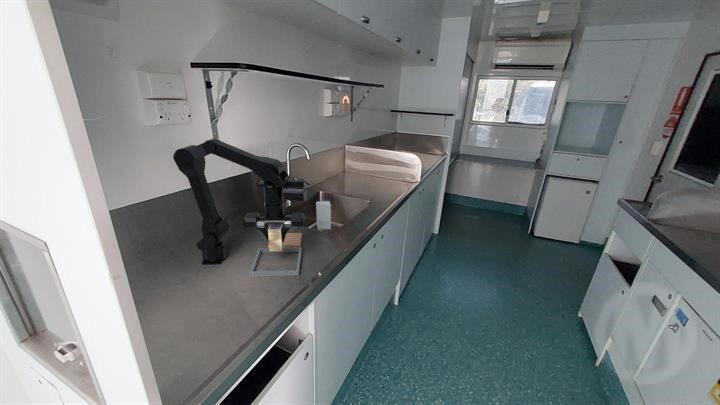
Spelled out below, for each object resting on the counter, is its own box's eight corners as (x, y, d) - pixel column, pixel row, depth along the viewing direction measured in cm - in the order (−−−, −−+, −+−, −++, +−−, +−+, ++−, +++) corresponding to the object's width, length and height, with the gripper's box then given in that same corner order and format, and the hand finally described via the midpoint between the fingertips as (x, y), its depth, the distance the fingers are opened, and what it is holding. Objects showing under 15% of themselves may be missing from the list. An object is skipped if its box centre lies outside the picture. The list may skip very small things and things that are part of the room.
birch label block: (269, 251, 96) (268, 229, 93) (272, 243, 101) (270, 222, 98) (282, 251, 97) (280, 229, 94) (283, 243, 101) (282, 222, 98)
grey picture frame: (249, 276, 93) (248, 272, 92) (259, 251, 107) (258, 248, 107) (298, 275, 95) (298, 271, 94) (301, 250, 109) (301, 247, 109)
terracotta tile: (268, 248, 110) (267, 245, 109) (272, 235, 119) (272, 233, 118) (300, 247, 111) (300, 245, 111) (301, 235, 120) (301, 232, 120)
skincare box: (329, 225, 131) (329, 200, 126) (331, 229, 127) (331, 204, 122) (316, 226, 129) (315, 200, 125) (317, 230, 125) (316, 204, 121)
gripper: (304, 191, 101) (305, 231, 107) (249, 190, 99) (253, 231, 104) (302, 202, 91) (303, 246, 96) (241, 202, 88) (245, 247, 94)
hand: (276, 242), depth 98 cm, fingers closed on birch label block, 4 cm apart
